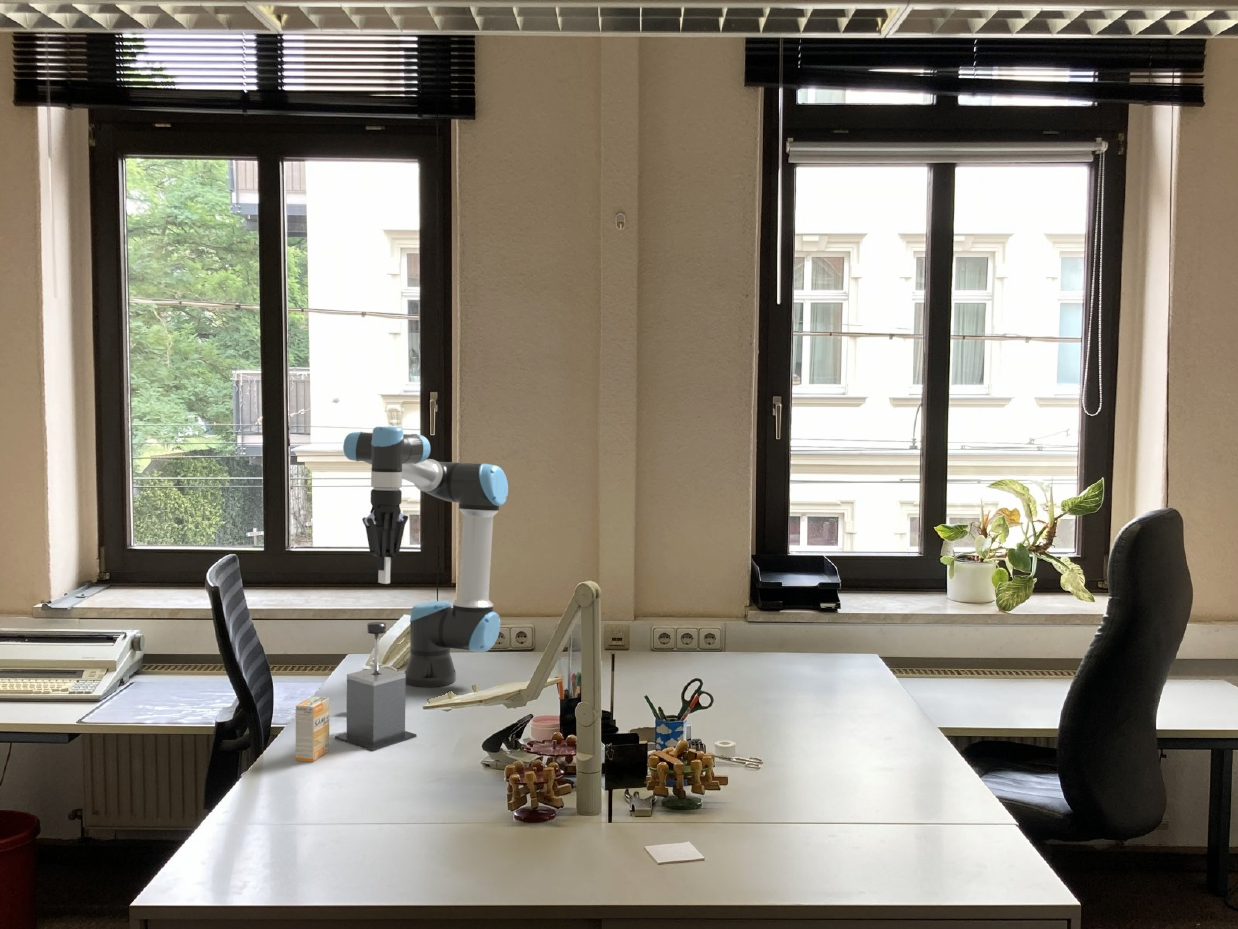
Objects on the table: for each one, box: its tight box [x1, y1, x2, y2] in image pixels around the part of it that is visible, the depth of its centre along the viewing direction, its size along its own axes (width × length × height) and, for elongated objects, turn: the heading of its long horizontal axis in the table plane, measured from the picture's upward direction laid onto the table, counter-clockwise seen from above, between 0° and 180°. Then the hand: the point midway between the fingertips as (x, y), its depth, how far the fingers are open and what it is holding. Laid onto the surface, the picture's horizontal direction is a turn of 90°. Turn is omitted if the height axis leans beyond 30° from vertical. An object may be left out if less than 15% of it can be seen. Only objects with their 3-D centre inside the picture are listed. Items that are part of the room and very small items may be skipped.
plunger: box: [366, 621, 387, 675], centre depth 263 cm, size 7×7×15 cm
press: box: [334, 666, 417, 752], centre depth 265 cm, size 14×15×16 cm
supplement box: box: [294, 696, 331, 763], centre depth 251 cm, size 8×5×13 cm, turn 168°
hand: (384, 582), depth 268 cm, fingers closed
